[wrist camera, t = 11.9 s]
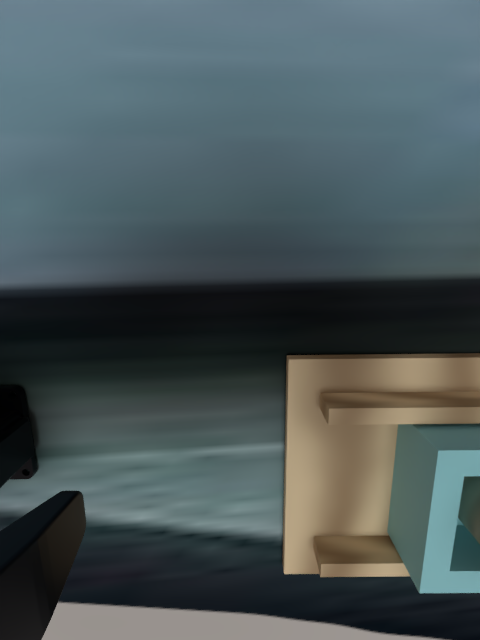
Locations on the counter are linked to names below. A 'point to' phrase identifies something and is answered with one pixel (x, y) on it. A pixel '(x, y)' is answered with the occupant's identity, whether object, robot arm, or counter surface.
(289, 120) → the counter surface
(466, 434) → the socket block
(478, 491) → the birch dowel
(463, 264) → the counter surface
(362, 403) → the rail base
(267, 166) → the counter surface
